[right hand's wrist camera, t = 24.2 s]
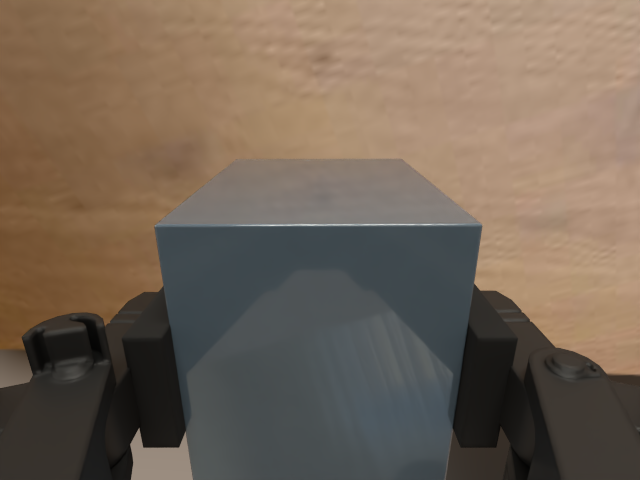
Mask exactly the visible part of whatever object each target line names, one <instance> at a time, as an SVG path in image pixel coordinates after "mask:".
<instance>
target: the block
mask: <svg viewBox="0 0 640 480" xmlns="http://www.w3.org/2000/svg"><path fill="white" fill-rule="evenodd" d="M481 231H482V224H481V223H480V222H479V221H477V220H476V219H475V218H474V217H473V216H471V215H470V214H469V213H468V212H466V211H465V210H464V209H463V208H461V207H460V206H459V205H458V204H457V203H455V202H454V201H453V200H452V199H450V198H449V197H448V196H447V195H446V194H444V193H443V192H442V191H441V190H439V189H438V188H437V187H436V186H434V185H433V184H432V183H431V182H430V181H428V180H427V179H426V178H425V177H423V176H422V175H421V174H420V173H419V172H417V171H416V170H415V169H414V168H412V167H411V166H410V165H409V164H408V163H406V162H405V161H404V160H403V159H236V160H235V161H233V162H232V163H231V164H230V165H228V166H227V167H226V168H225V169H223V170H222V171H221V172H220V173H219V174H217V175H216V176H215V177H214V178H212V179H211V180H210V181H209V182H207V183H206V184H205V185H204V186H202V187H201V188H200V189H199V190H197V191H196V192H195V193H194V194H193V195H191V196H190V197H189V198H188V199H186V200H185V201H184V202H183V203H181V204H180V205H179V206H178V207H176V208H175V209H174V210H173V211H171V212H170V213H169V214H168V215H167V216H165V217H164V218H163V219H162V220H160V221H159V222H158V223H157V224H155V233H156V240H157V246H158V253H159V259H160V266H161V273H162V279H163V286H164V292H165V299H166V305H167V312H168V318H169V325H170V327H171V334H172V340H173V347H174V354H175V360H176V367H177V374H178V380H179V387H180V394H181V400H182V407H183V414H184V420H185V427H186V436H187V443H188V449H189V456H190V463H191V469H192V476H193V480H446V473H447V466H448V459H449V452H450V445H451V438H452V431H453V424H454V418H455V411H456V404H457V397H458V390H459V383H460V376H461V369H462V362H463V356H464V349H465V342H466V335H467V328H468V321H469V314H470V307H471V300H472V293H473V287H474V280H475V273H476V266H477V259H478V252H479V245H480V238H481Z"/></svg>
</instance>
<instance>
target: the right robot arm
mask: <svg viewBox="0 0 640 480" xmlns="http://www.w3.org/2000/svg"><path fill="white" fill-rule="evenodd" d="M22 340H23V343H24V346H25V350H26V353H27V356H28V360H29V363H30V366H31V370H32V373H33V376H32V378H31V380H30V382H28V383H25V384H20V385H14V386H9V387H4V388H0V480H131V474H132V467H133V458H132V452H131V447H130V443H131V441H132V440H133V438H134V436H135V434H136V432H137V430H138V429H139V428H140V433H141V438H142V443H143V447H144V448H145V447H146V448H152V447H154V448H160V447H161V448H162V447H179V446H180V444H181V441H182V439H183V436H184V434H185V431H186V427H185V420H184V414H183V407H182V400H181V394H180V387H179V380H178V374H177V367H176V360H175V354H174V347H173V340H172V334H171V327H170V325H169V318H168V312H167V305H166V299H165V292H164V286H163V287H162V288H161V290H160V291H159V292H144V293H142V294H140V295H138V296H137V297H135V298H133V299H131V300H130V301H128V302H127V303H126V304H125V305H124V307H123V308H122V309H121V310H120V311H119V313H118V314H116V315H115V316H114V318H113V319H112V320H111V321H110V323H108V324H107V325H106V326H104V321H103V318H101V317H100V316H98V315H97V314H92V313H71V314H67V315H62V316H57V317H55V318H52V319H49V320H47V321H44V322H42V323H40V324H38V325H36V326H35V327H33V328H31V329H30V330H29V331H28V332H26V333H25V334H24V335H23V336H22ZM500 426H501V427H502V429H503V431H504V433H505V434H506V436H507V438H508V440H509V442H510V447H509V452H508V456H507V461H506V466H505V470H504V475H503V480H640V386H635V385H630V384H625V383H620V382H615V381H611V380H610V379H609V377H608V376H607V374H606V373H605V372H604V370H603V369H602V368H601V367H600V366H599V365H598V364H596V363H595V362H593V361H592V360H590V359H589V358H587V357H585V356H582V355H580V354H578V353H576V352H573V351H569V350H565V349H561V348H555V346H554V345H553V344H552V343H551V342H550V341H549V340H548V339H547V338H546V337H545V336H544V335H543V333H542V332H541V331H540V330H539V329H538V328H537V327H536V326H535V325H534V324H533V323H532V322H530V319H529V318H528V317H527V316H526V315H525V314H524V313H522V312H521V310H520V308H519V307H518V306H517V305H516V304H515V303H514V302H513V301H512V300H511V299H509V298H507V297H506V296H504V295H502V294H500V293H499V292H497V291H480V290H479V289H478V288H477V286H476V285H475V284H474V287H473V293H472V300H471V307H470V314H469V321H468V328H467V335H466V342H465V349H464V356H463V362H462V369H461V376H460V383H459V390H458V397H457V404H456V411H455V418H454V424H453V429H454V432H455V434H456V437H457V439H458V442H459V444H460V447H461V448H464V447H465V448H466V447H470V448H472V447H473V448H474V447H476V448H477V447H479V448H480V447H485V448H487V447H489V448H490V447H494V448H495V447H496V446H497V441H498V436H499V431H500Z"/></svg>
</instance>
